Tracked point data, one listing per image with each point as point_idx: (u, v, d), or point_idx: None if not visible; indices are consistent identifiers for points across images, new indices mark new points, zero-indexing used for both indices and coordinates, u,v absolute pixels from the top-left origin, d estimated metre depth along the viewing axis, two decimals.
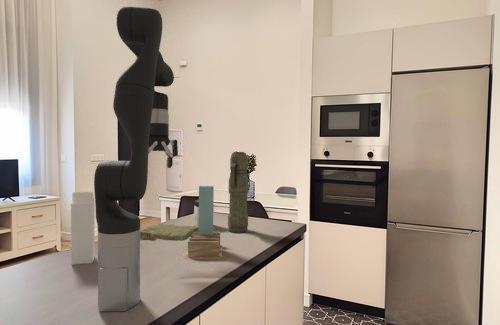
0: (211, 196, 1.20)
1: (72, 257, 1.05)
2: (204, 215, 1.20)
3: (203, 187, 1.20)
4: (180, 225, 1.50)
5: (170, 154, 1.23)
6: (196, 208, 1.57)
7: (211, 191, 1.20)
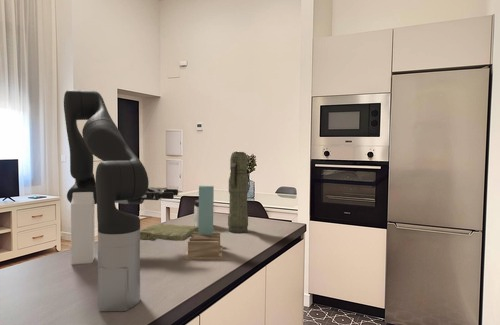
0: (211, 196, 1.20)
1: (72, 257, 1.05)
2: (204, 215, 1.20)
3: (203, 187, 1.20)
4: (180, 225, 1.50)
5: (164, 188, 1.24)
6: (196, 208, 1.57)
7: (211, 191, 1.20)
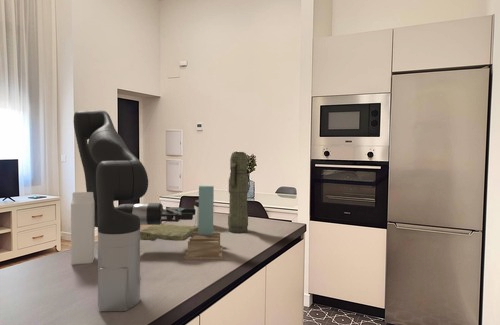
0: (211, 196, 1.20)
1: (72, 257, 1.05)
2: (204, 215, 1.20)
3: (203, 187, 1.20)
4: (180, 225, 1.50)
5: (181, 208, 1.25)
6: (196, 208, 1.57)
7: (211, 191, 1.20)
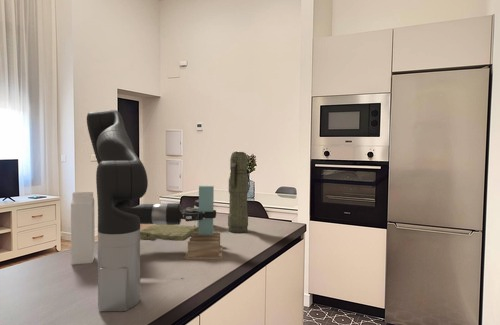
0: (211, 196, 1.20)
1: (72, 257, 1.05)
2: None
3: (203, 187, 1.20)
4: (180, 225, 1.50)
5: None
6: None
7: (211, 191, 1.20)
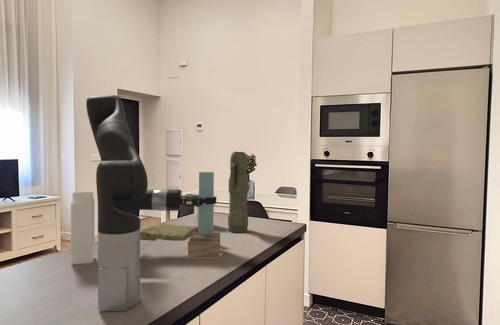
0: (211, 182, 1.20)
1: (72, 257, 1.05)
2: None
3: (203, 173, 1.19)
4: (180, 225, 1.50)
5: None
6: (196, 208, 1.57)
7: (211, 177, 1.20)
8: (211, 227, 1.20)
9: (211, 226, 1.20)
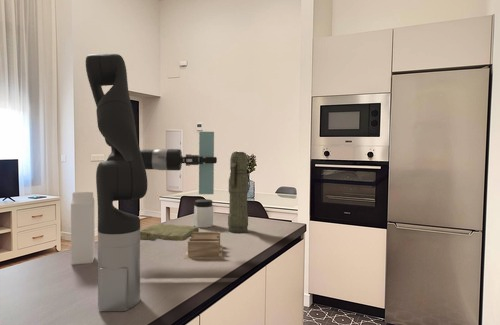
0: (211, 141, 1.19)
1: (72, 257, 1.05)
2: None
3: (203, 132, 1.19)
4: (180, 225, 1.50)
5: None
6: (196, 208, 1.57)
7: (211, 136, 1.19)
8: (211, 187, 1.20)
9: (211, 186, 1.20)
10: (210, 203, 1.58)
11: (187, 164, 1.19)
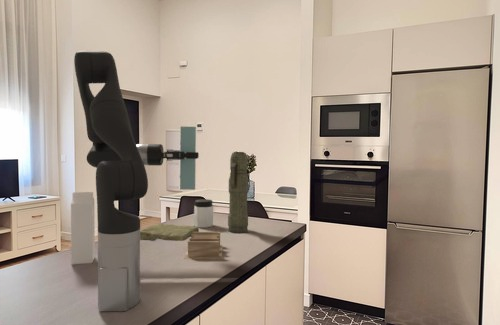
0: (193, 136, 1.19)
1: (72, 257, 1.05)
2: None
3: (185, 127, 1.19)
4: (180, 225, 1.50)
5: None
6: (196, 208, 1.57)
7: (193, 131, 1.19)
8: (193, 182, 1.19)
9: (193, 181, 1.19)
10: (210, 203, 1.58)
11: (168, 159, 1.18)
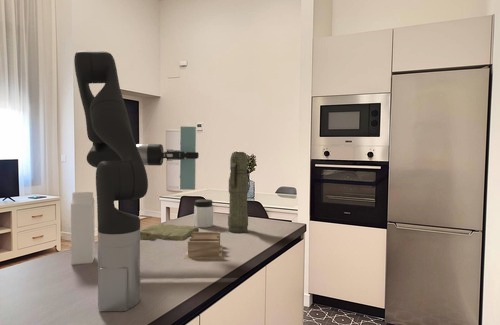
0: (193, 136, 1.19)
1: (72, 257, 1.05)
2: None
3: (185, 127, 1.19)
4: (180, 225, 1.50)
5: None
6: (196, 208, 1.57)
7: (193, 131, 1.19)
8: (193, 182, 1.19)
9: (193, 181, 1.19)
10: (210, 203, 1.58)
11: (168, 159, 1.18)
